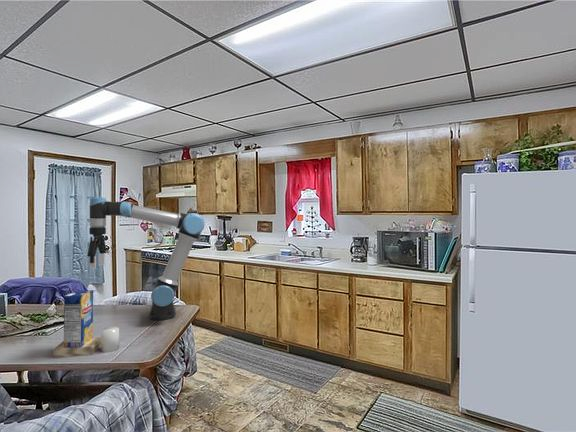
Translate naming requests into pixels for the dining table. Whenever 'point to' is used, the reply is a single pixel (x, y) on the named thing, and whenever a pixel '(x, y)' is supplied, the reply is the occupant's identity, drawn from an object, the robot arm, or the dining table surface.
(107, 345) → the white rounded cylinder
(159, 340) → the dining table surface
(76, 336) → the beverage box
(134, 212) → the robot arm
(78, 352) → the maple block
